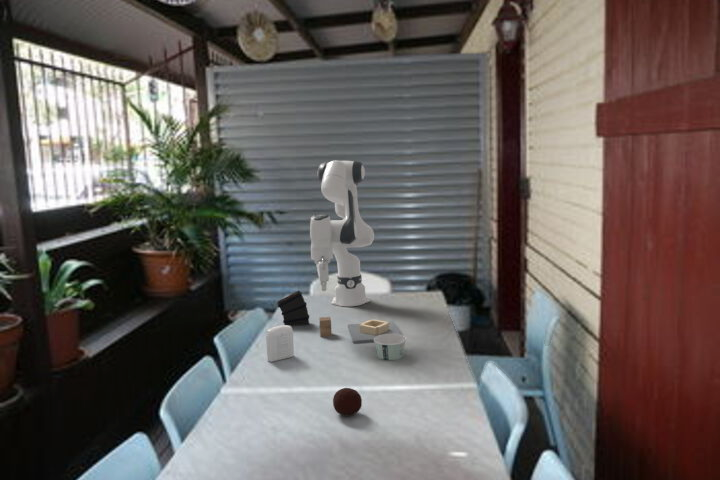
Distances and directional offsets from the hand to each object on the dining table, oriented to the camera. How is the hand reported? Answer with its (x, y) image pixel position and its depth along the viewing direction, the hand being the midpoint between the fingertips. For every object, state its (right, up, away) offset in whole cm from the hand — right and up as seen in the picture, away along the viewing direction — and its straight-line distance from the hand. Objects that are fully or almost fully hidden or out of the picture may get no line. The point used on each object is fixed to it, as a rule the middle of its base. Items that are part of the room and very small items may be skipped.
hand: (323, 287), depth 239 cm
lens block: (+1, -20, +3) cm, 20 cm away
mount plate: (+21, -19, +3) cm, 28 cm away
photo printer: (-14, -24, -22) cm, 36 cm away
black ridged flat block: (-14, -18, +19) cm, 30 cm away
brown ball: (+11, -31, -70) cm, 78 cm away
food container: (+26, -23, -24) cm, 42 cm away
